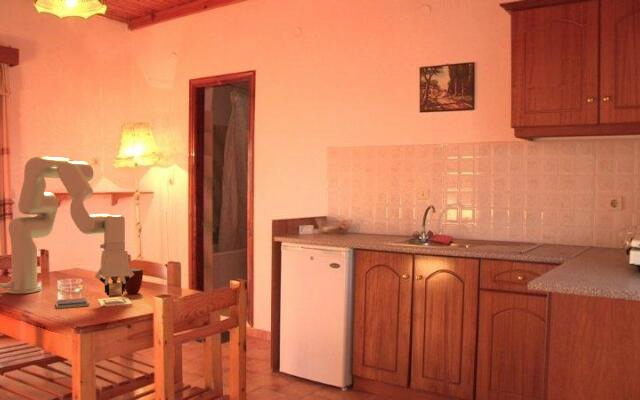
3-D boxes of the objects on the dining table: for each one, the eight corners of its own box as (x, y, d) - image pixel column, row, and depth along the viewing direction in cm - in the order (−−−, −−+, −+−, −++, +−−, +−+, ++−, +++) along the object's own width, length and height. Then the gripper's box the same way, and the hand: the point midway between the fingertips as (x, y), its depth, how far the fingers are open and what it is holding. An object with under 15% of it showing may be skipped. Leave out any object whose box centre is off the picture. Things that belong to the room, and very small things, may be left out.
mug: (119, 291, 238) (119, 268, 238) (138, 290, 242) (138, 267, 242) (125, 296, 229) (125, 271, 229) (145, 294, 233) (145, 270, 233)
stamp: (109, 297, 214) (109, 275, 214) (107, 295, 218) (107, 273, 218) (121, 296, 216) (121, 274, 216) (120, 294, 220) (119, 272, 220)
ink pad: (56, 308, 205) (56, 304, 205) (55, 303, 213) (55, 300, 213) (89, 305, 210) (89, 301, 210) (86, 301, 218) (86, 297, 218)
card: (101, 306, 208) (101, 305, 208) (97, 299, 221) (97, 298, 221) (132, 304, 214) (132, 303, 214) (126, 297, 226) (126, 296, 226)
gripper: (92, 249, 209) (92, 297, 210) (139, 247, 217) (139, 293, 218) (90, 247, 216) (90, 294, 216) (135, 245, 224) (135, 290, 224)
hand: (114, 293), depth 217 cm, fingers closed on stamp, 4 cm apart
